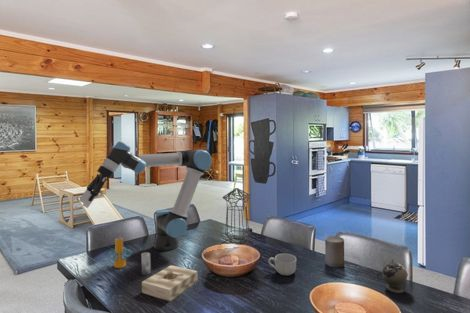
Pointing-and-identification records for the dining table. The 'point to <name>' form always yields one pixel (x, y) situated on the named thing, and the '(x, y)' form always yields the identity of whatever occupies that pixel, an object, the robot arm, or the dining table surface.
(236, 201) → the geometric lantern
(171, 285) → the jig
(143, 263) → the grey metal peg
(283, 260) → the teacup
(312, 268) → the dining table surface
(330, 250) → the pillar candle
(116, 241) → the orange post with rings
